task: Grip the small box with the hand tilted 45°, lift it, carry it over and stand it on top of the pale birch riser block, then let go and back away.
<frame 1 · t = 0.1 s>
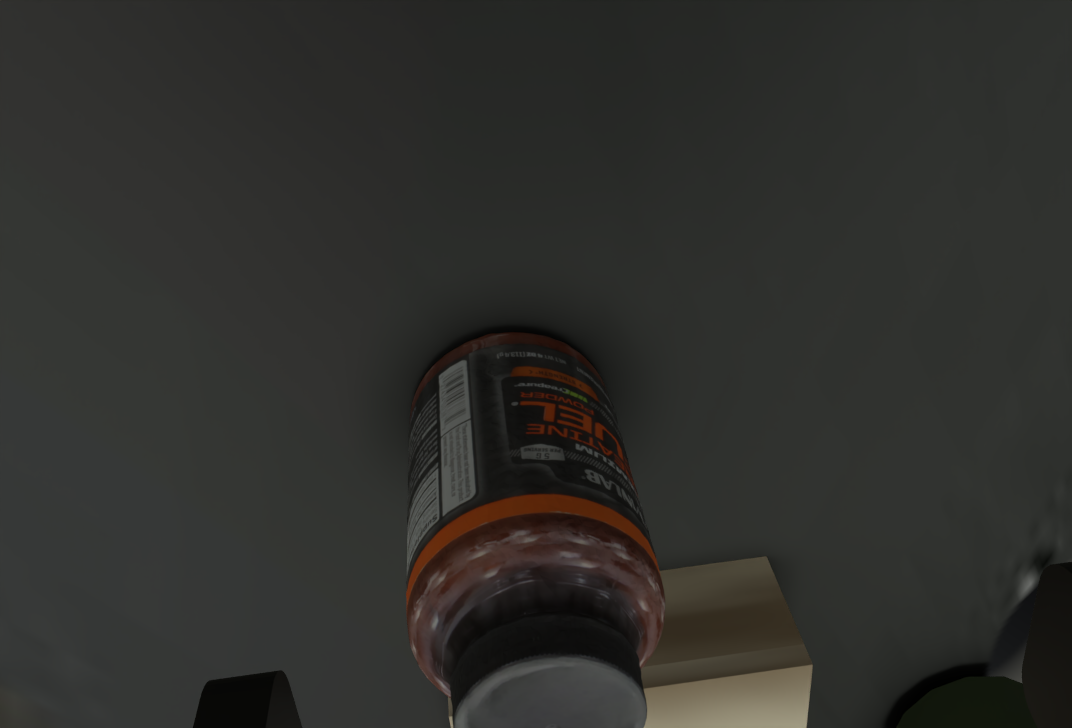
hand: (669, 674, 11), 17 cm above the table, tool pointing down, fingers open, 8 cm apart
character mug: (954, 710, 40), on the table
supplement bottle: (508, 404, 30), on the table
birch riser: (611, 679, 37), on the table
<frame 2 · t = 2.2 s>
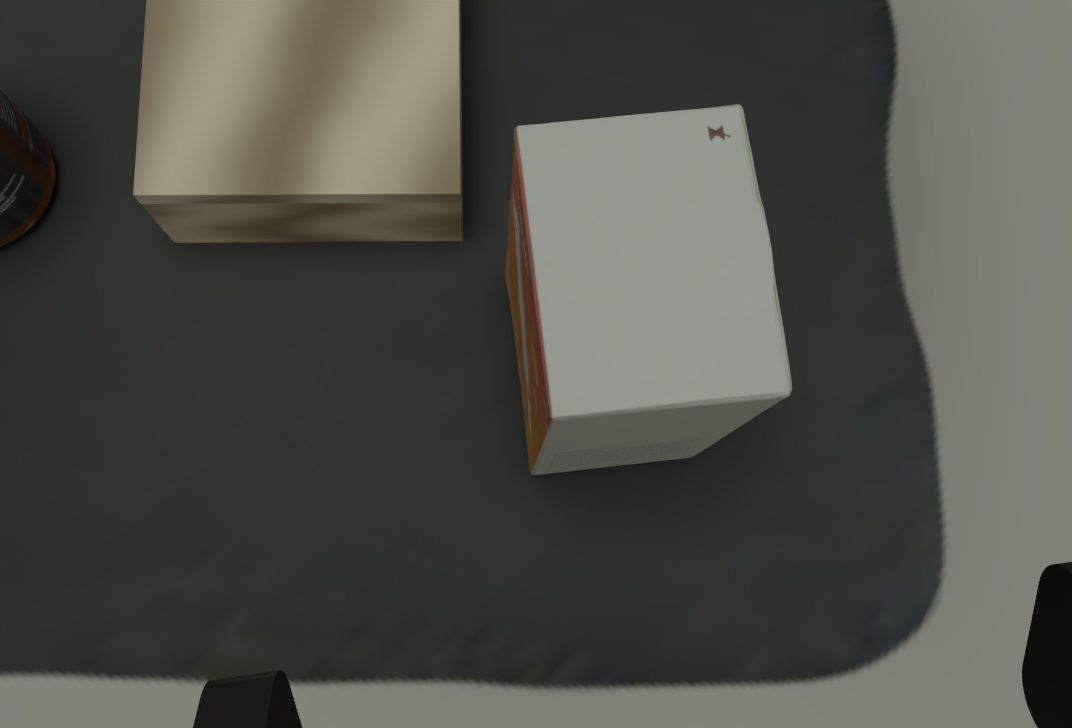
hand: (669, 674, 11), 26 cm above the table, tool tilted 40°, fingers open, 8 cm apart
birch riser: (324, 114, 40), on the table
small box: (595, 366, 39), on the table
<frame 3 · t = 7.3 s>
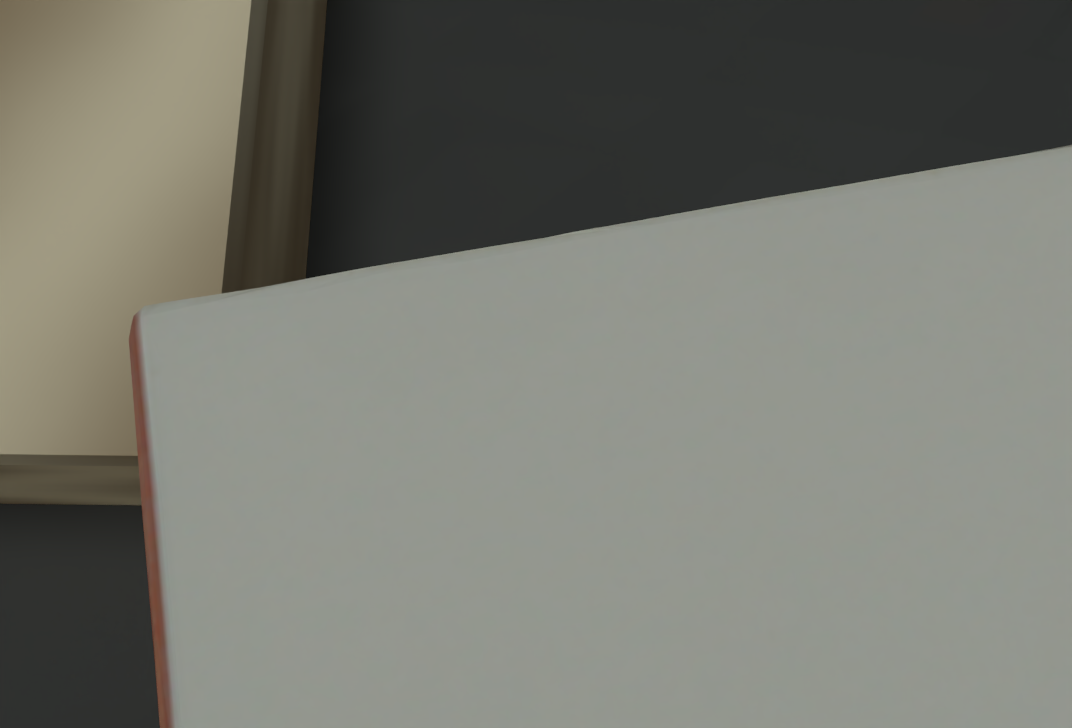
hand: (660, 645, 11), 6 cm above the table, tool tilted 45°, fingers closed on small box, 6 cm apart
birch riser: (28, 221, 20), on the table
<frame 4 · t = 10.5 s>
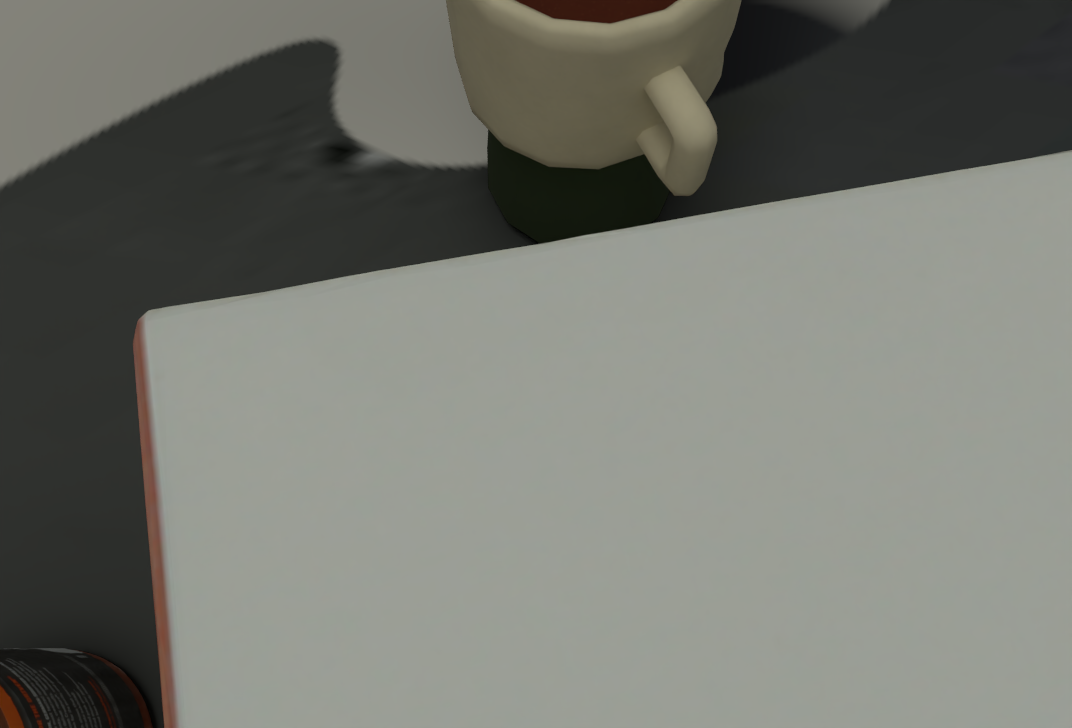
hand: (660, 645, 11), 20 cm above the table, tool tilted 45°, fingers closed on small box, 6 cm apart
character mug: (579, 176, 34), on the table
when the fingers open (12 cm above the table, at t = 13.7 s): small box drops 2 cm, resting on birch riser.
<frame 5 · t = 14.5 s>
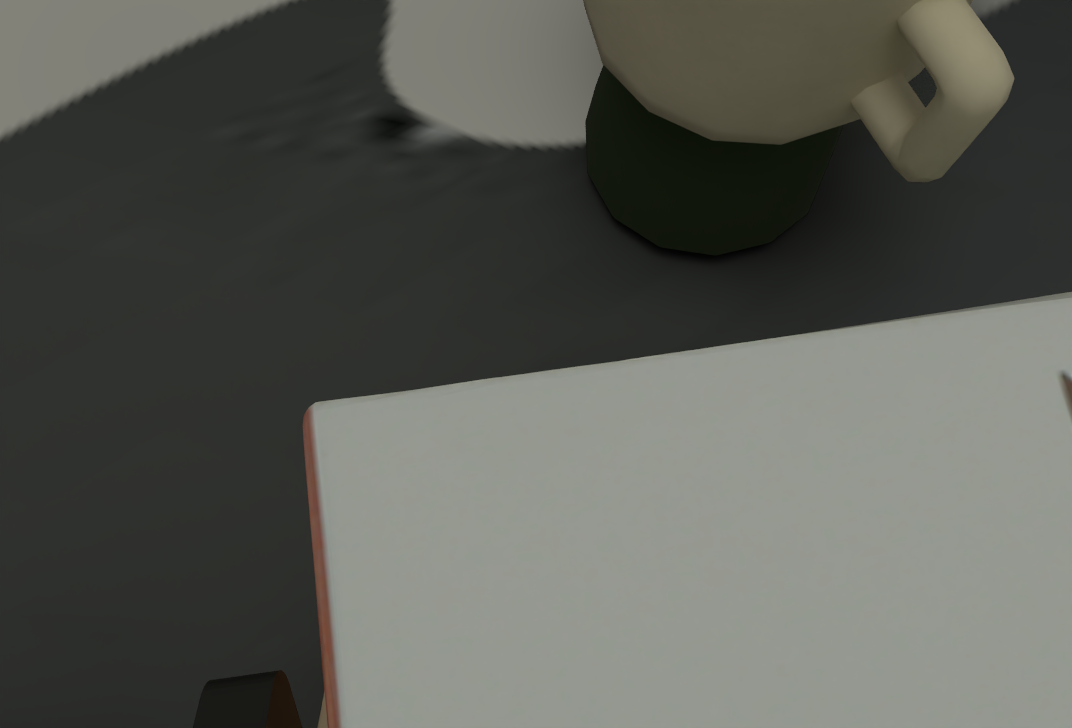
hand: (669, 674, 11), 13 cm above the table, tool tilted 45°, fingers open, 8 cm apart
character mug: (700, 160, 27), on the table
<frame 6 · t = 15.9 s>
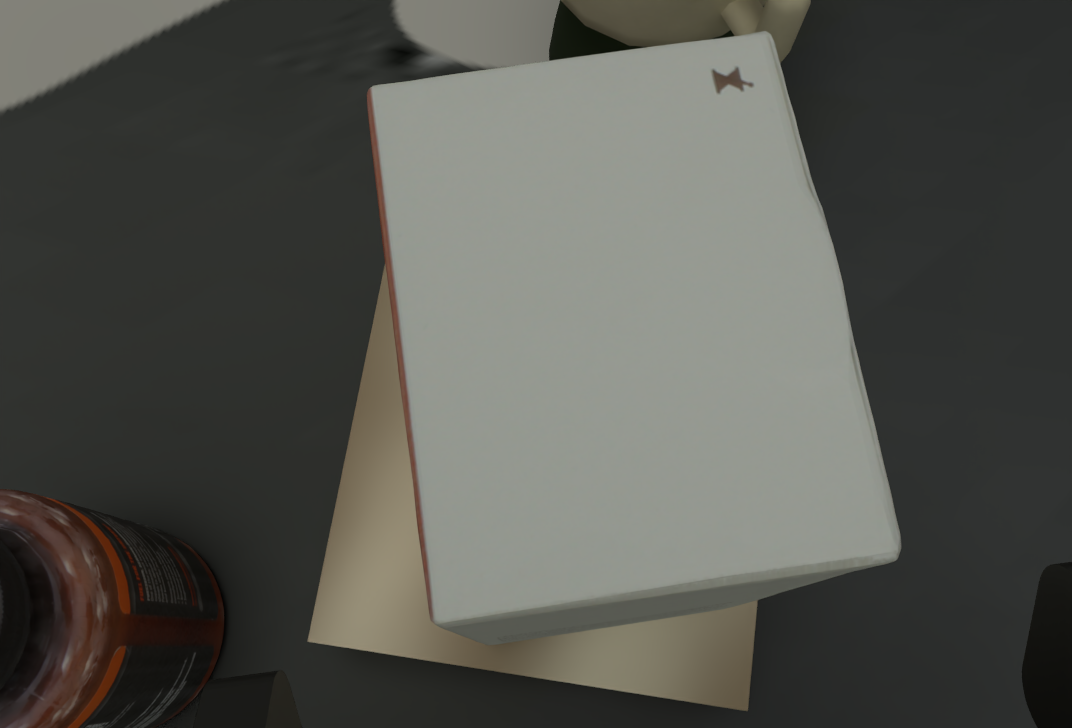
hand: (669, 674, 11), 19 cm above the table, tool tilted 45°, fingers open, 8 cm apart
character mug: (638, 82, 35), on the table
supplement bottle: (131, 630, 30), on the table
birch riser: (553, 488, 31), on the table, touching small box
small box: (578, 475, 26), point 4 cm above the table, touching birch riser
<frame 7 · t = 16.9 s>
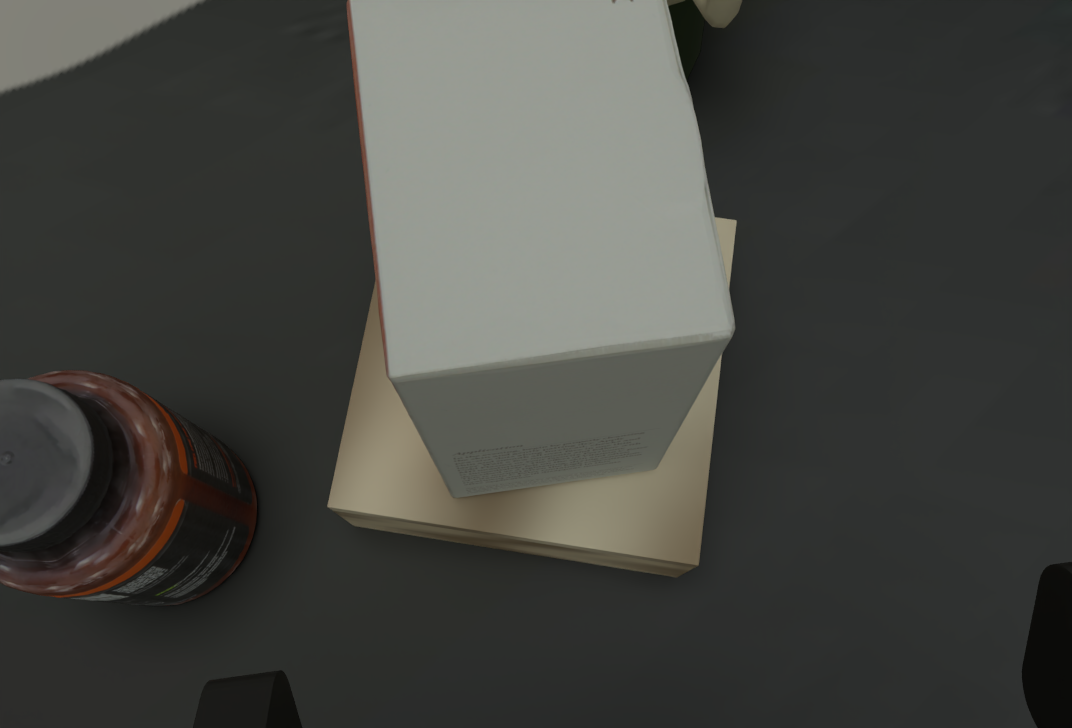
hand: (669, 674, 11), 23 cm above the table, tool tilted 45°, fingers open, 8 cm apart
character mug: (617, 48, 40), on the table
supplement bottle: (175, 519, 34), on the table
birch riser: (539, 397, 36), on the table
small box: (534, 362, 31), point 4 cm above the table
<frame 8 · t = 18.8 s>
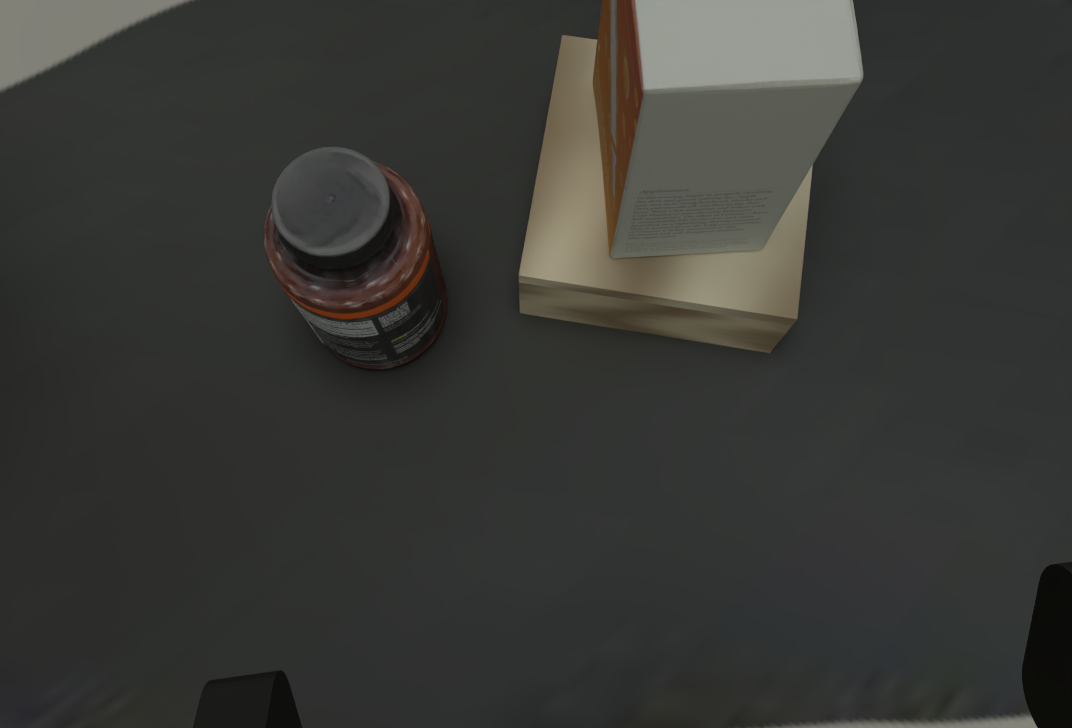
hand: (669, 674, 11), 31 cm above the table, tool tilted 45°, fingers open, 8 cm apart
supplement bottle: (381, 310, 44), on the table
birch riser: (659, 221, 46), on the table, touching small box
small box: (674, 168, 41), point 4 cm above the table, touching birch riser
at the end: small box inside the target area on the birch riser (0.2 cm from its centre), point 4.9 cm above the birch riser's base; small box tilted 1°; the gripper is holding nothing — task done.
